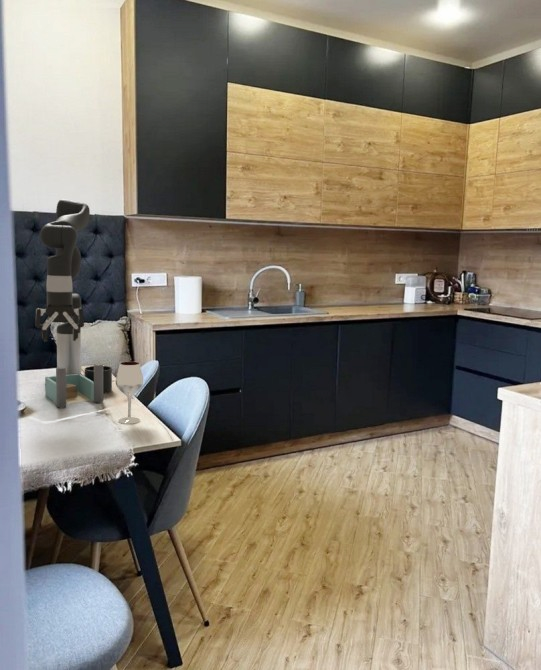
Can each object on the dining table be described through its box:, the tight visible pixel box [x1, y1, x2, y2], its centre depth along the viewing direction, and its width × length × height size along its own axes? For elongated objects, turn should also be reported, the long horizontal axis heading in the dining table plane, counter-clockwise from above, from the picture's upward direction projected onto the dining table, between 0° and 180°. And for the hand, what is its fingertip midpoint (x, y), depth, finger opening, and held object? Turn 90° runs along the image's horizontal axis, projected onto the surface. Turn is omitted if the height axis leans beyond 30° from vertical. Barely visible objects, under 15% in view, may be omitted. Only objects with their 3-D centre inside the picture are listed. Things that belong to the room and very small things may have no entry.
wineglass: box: [115, 361, 144, 425], centre depth 169 cm, size 8×8×18 cm
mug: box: [84, 365, 113, 395], centre depth 202 cm, size 9×12×9 cm
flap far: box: [90, 363, 104, 404], centre depth 186 cm, size 3×5×13 cm, turn 57°
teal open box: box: [44, 373, 93, 405], centre depth 191 cm, size 14×12×7 cm
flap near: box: [55, 367, 67, 409], centre depth 179 cm, size 3×5×13 cm, turn 28°
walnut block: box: [66, 384, 77, 399], centre depth 192 cm, size 4×4×4 cm
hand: (60, 340), depth 176 cm, fingers open, 8 cm apart
